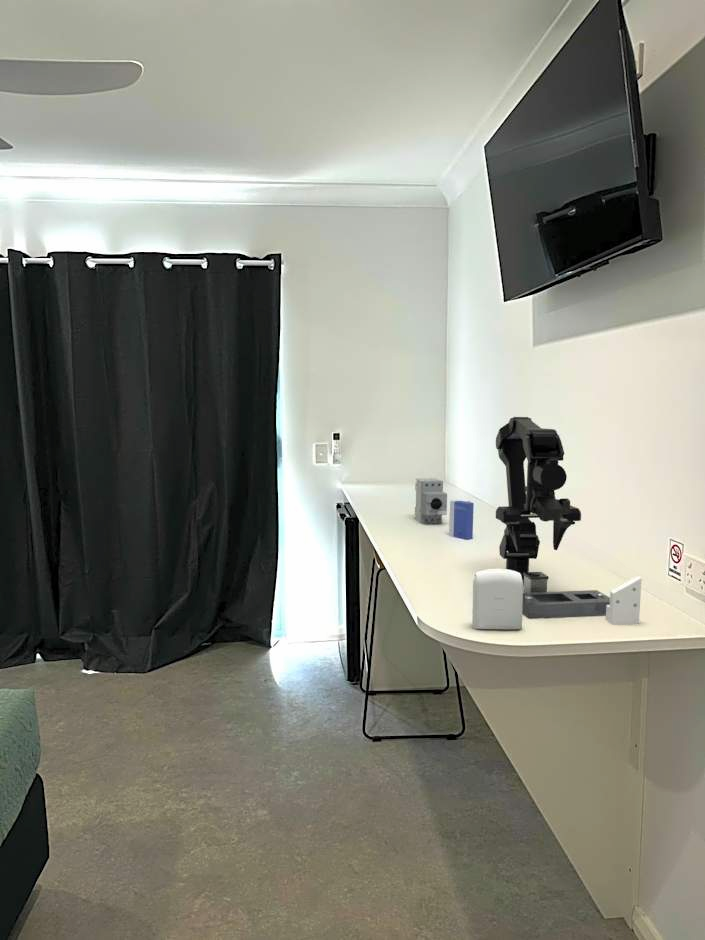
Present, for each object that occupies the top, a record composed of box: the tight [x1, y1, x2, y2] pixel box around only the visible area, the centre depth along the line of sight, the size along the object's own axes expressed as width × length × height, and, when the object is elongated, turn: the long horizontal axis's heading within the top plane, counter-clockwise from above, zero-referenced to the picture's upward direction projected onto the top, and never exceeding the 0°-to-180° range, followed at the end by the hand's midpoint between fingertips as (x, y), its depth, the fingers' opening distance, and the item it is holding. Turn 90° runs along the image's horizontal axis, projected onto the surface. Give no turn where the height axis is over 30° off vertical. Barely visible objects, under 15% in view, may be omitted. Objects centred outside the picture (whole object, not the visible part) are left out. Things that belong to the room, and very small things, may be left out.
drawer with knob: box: [523, 571, 549, 593], centre depth 177 cm, size 4×4×6 cm
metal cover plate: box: [522, 589, 610, 620], centre depth 169 cm, size 9×20×3 cm, turn 100°
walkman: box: [448, 499, 474, 541], centre depth 245 cm, size 8×3×12 cm, turn 39°
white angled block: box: [605, 575, 643, 625], centre depth 161 cm, size 4×10×9 cm, turn 92°
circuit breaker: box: [414, 477, 448, 525], centre depth 269 cm, size 8×14×15 cm, turn 14°
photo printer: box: [471, 568, 524, 630], centre depth 156 cm, size 10×4×12 cm, turn 88°
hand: (536, 550), depth 176 cm, fingers open, 9 cm apart
